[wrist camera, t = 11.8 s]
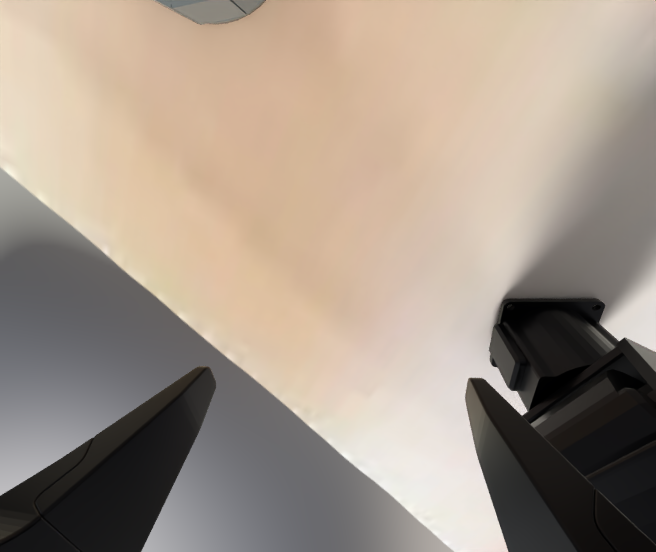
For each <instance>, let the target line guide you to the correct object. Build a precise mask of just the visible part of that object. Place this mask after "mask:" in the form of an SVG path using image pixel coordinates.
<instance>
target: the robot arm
mask: <svg viewBox="0 0 656 552" xmlns="http://www.w3.org/2000/svg"><path fill="white" fill-rule="evenodd" d="M508 305H512V306H511V307H507V306H508ZM594 305H596V306H595V307H593V306H594ZM604 308H605V304H604V303H603V302H602V301H600V300H599V299H507V300H504V301H503V302H502V304H501V308H500V313H499V318H498V322H497V324H496V325H495V326H494V328H493V333H492V338H491V343H490V348H489V351H490V353H491V356H490V362H491V364H492V366H494V367H498V369H499V371H500V373H501V375H502V377H503V379H504V381H505V383H506V385H507V387H508V388H509V389H510V390H511V391H517V392H518V394H519V396H520V398H521V400H522V402H523V403H524V405H525V407H526V409H527V411H528V412H527V413H525V414H524V415H523V416H521V415H520V414H519V413H518V412H517V411H516V410H515V409H514V408H513V407H512V406H511V405H510V404H509V403H508V402H507V401H506V400H505V399H504V398H503V397H502V396H501V395H500V394H499V393H498V392H497V391H496V390H495V389H494V388H493V387H492V386H491V385H490V384H489V383H488V382H487V381H486V380H484V379H482V378H469V379H468V383H467V389H466V395H465V401H466V406H467V411H468V416H469V420H470V425H471V430H472V435H473V439H474V444H475V448H476V453H477V456H478V460H479V463H480V466H481V469H482V472H483V475H484V478H485V481H486V484H487V487H488V490H489V493H490V497H491V500H492V503H493V506H494V509H495V512H496V515H497V518H498V521H499V524H500V527H501V530H502V533H503V536H504V539H505V542H506V545H507V548H508V552H656V352H654V351H652V350H650V349H648V348H646V347H644V346H642V345H639V344H637V343H635V342H633V341H631V340H629V339H627V338H623V339H622V340H621V341H618V340H617V339H616V338H615V337H614V336H612V335H611V334H610V333H609V332H608V331H607V330H606V329H605V328H603V327H602V326H601V325H600V324H599V320H600V318H601V315H602V313H603V311H604ZM215 389H216V381H215V378H214V376H213V373H212V371H211V369H210V368H209V367H204V366H199V367H197V368H195V369H194V370H192V371H191V372H189V373H188V374H186V375H185V376H183V377H182V378H180V379H179V380H177V381H176V382H174V383H173V384H171V385H170V386H168V387H167V388H165V389H164V390H162V391H161V392H159V393H158V394H156V395H155V396H153V397H152V398H151V399H149V400H148V401H146V402H145V403H143V404H142V405H140V406H139V407H137V408H136V409H134V410H133V411H131V412H130V413H128V414H127V415H125V416H124V417H122V418H121V419H119V420H118V421H116V422H115V423H114V424H112V425H111V426H109V427H107V428H106V429H105V430H103V431H102V432H100V433H99V434H97V435H96V436H95V437H94V438H91V439H90V440H88V441H87V442H85V443H84V444H82V445H81V446H79V447H78V448H76V449H75V450H73V451H72V452H70V453H69V454H67V455H66V456H64V457H63V458H61V459H59V460H58V461H56V462H55V463H53V464H51V465H50V466H48V467H47V468H45V469H43V470H42V471H40V472H39V473H37V474H36V475H34V476H32V477H30V478H29V479H27V480H25V481H24V482H22V483H21V484H19V485H17V486H16V487H14V488H13V489H11V490H9V491H7V492H6V493H4V494H2V495H1V496H0V552H141V551H142V549H143V547H144V544H145V542H146V540H147V538H148V536H149V534H150V532H151V530H152V528H153V526H154V524H155V522H156V520H157V518H158V516H159V514H160V511H161V509H162V507H163V505H164V503H165V501H166V499H167V497H168V495H169V493H170V491H171V489H172V486H173V485H174V483H175V480H176V478H177V476H178V474H179V472H180V470H181V468H182V466H183V463H184V462H185V460H186V458H187V455H188V454H189V452H190V449H191V447H192V445H193V443H194V441H195V439H196V437H197V435H198V433H199V430H200V428H201V426H202V423H203V421H204V418H205V415H206V413H207V410H208V407H209V405H210V402H211V399H212V397H213V394H214V391H215Z"/></svg>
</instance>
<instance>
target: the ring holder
mask: <svg viewBox="0 0 656 552" xmlns="http://www.w3.org/2000/svg"><path fill="white" fill-rule="evenodd" d="M153 1H155V2H157V3H159V4H161V5H163V6H165V7H167V8H169V9H171V10H172V11H174V12H176V13H178V14H180V15H182V16H184V17H186V18H188V19H190V20H192V21H194V22H196V23H197V24H200V25H202V24H223V23H229V22H233V21H236V20H239V19H241V18H243V17H245V16H247V15H249V14H250V13H252V12H253V11H255V10H256V9H257V8H259V7H260V6H261V5H262V4H263V3H264V2H265V1H266V0H153Z"/></svg>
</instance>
